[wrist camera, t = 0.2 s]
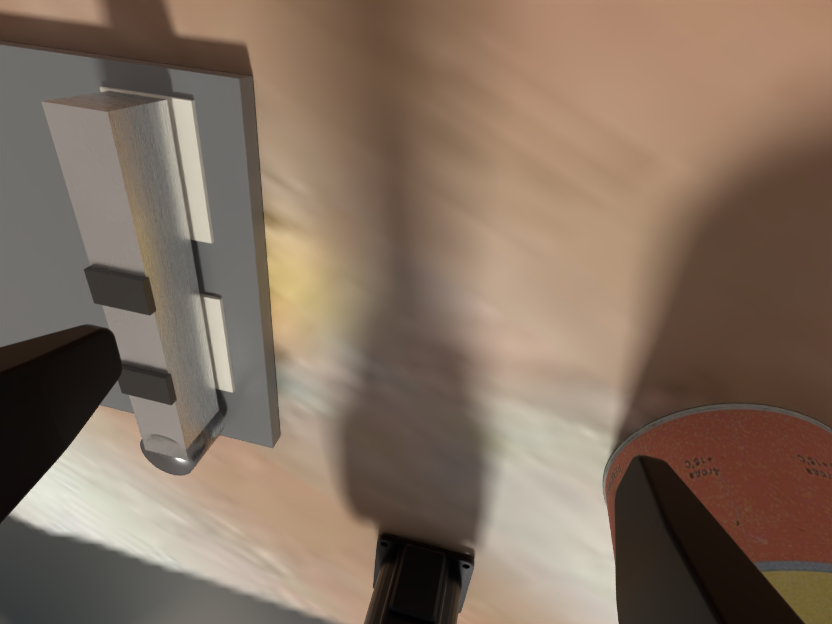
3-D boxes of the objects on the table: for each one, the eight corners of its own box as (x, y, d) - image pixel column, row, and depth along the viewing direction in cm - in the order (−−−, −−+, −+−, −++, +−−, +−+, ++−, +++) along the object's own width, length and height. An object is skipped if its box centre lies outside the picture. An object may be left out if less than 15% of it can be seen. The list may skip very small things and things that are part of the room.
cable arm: (227, 440, 28) (193, 485, 25) (181, 428, 28) (143, 471, 26) (172, 100, 18) (107, 114, 15) (103, 90, 19) (26, 101, 16)
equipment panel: (280, 436, 29) (270, 452, 28) (26, 373, 32) (8, 386, 31) (252, 76, 19) (234, 79, 18) (-127, 22, 21) (-164, 22, 20)
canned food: (558, 462, 26) (571, 747, 16) (784, 362, 20) (1032, 704, 10) (677, 579, 28) (755, 886, 18) (906, 518, 23) (1201, 915, 13)
